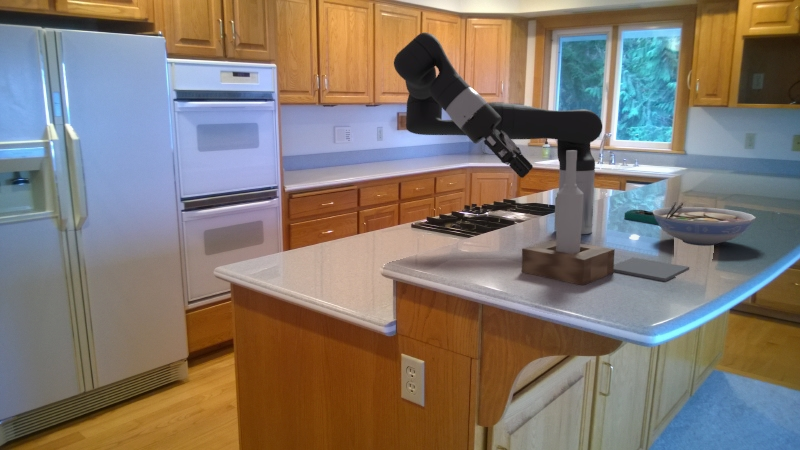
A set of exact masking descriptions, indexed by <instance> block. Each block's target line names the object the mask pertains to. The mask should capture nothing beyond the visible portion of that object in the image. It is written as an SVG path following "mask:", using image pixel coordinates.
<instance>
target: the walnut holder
mask: <svg viewBox="0 0 800 450" xmlns="http://www.w3.org/2000/svg"><path fill="white" fill-rule="evenodd" d="M521 249H522V251H521V273H525V274H529V275H534V276H539V277H544V278H548V279H553V280H557V281H562V282H567V283H572V284H575V285H576V284H577V285H580V286H584V285H587V284H591V283H592V282H596V281H597V280H600V279H601V278H605V277H608V276H609V275H611V274H612V275H613V274H614V272H613V270H614V265H615V248H610V247H609V248H608V247H604V246H596V245H589V244H584V243H580V252H579V253H576V254H570V253H564V252H558V251H556V239H552V240H547V241H544V242H541V243H538V244H534V245H530V246H527V247H526V246H525V247H522V248H521Z"/></svg>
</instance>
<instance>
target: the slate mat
mask: <svg viewBox="0 0 800 450" xmlns="http://www.w3.org/2000/svg"><path fill="white" fill-rule="evenodd" d="M689 270H690V266H687V265H679V264H675V263H670V262H669V263H667V262H661V261H655V260H650V259H644V258H638V257H631V258H628V259H625V260H624V261H620V262H618V263H616V264H615V263H614V270H613V273H619V274H625V275H629V276H635V277H640V278H643V279H644V278H645V279H649V280H656V281H660V282H667V281H669V280H671V279H673V278H675V277H678V276H679V275H682V274H684V273H685V272H686V273H687V272H688V271H689Z"/></svg>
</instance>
